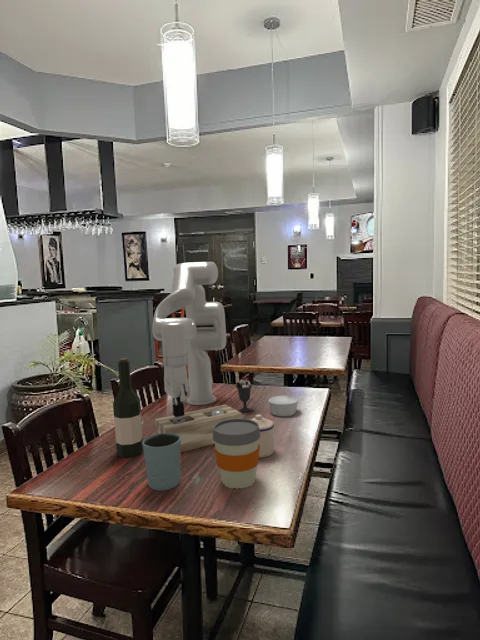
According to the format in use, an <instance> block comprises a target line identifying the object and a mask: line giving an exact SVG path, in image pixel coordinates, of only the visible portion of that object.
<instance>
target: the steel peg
mask: <svg viewBox="0 0 480 640" xmlns="http://www.w3.org/2000/svg"><path fill="white" fill-rule="evenodd" d="M220 414H224V410H222V409H215V410H213V411H212V416H215V415H220Z"/></svg>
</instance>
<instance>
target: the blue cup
mask: <svg viewBox="0 0 480 640" xmlns="http://www.w3.org/2000/svg"><path fill="white" fill-rule="evenodd" d="M142 444H143V449H144V450H143V453H144V459H145V467H146V468H145V471H146V475H147V483H148V486H149V488H150V489H152V490H154V491H167V490H171V488H172V489H174V488H176V487H178V486H179V485H178V484H180V483H181V478H182V477H181V474H182V473H181V472H182V471H181V454H182V452H180V448H181V437H180V436H179V435H177V434H173V433H160V434H156V433H155V434H152V435H149V436H147V437H146V438H143V442H142Z"/></svg>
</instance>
